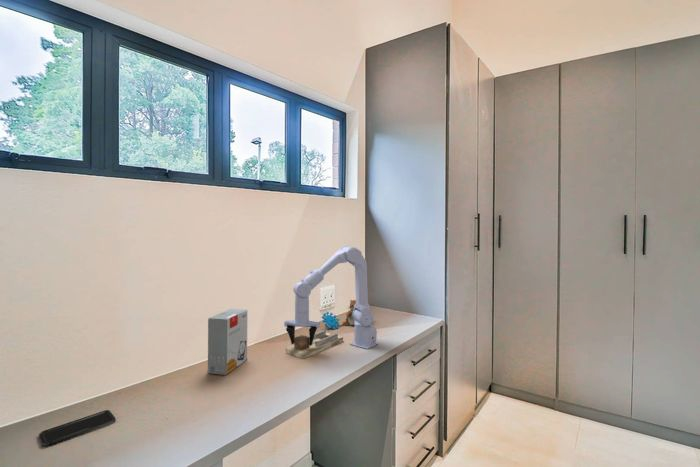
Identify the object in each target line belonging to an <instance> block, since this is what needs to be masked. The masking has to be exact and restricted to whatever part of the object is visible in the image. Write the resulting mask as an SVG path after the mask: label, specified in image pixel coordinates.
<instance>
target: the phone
mask: <svg viewBox="0 0 700 467" xmlns="http://www.w3.org/2000/svg"><path fill="white" fill-rule="evenodd" d="M115 423H116V416H114V414H113V413H112V412H111V411H110V410H109V409H105V410H102V411H99V412H96V413H93V414H91V415H90V414H89V415H87V416H84V417H81V418H77V419H75V420H73V421H70V422H69V421H68V422H67V423H63V424H60V425H57V426H54V427H52V428H48V429H45V430H42V431H40V432H39V434H38V438H39V442H40V444H41V447H42V448H44V447H46V448H50V447H52V446H55V445H57V443H58V444H61V443H63V441H64V442H65V441H69V440H71V438H72V439H74V437H75V438H77V437H79V436H82V435H86V434H88V433H91V432H93V431H96V430H99V429H102V428H104V427H107V426H111V425H113V424H115ZM68 439H69V440H68ZM49 446H50V447H49Z"/></svg>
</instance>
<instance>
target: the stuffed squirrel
mask: <svg viewBox="0 0 700 467" xmlns="http://www.w3.org/2000/svg"><path fill="white" fill-rule="evenodd" d="M349 301H350V302H349V306H348V308H347V309H348V311H347V313H346V318H345V321H343V322H342V323H341V326H343V325H346V326H351V325H354V323H355V319H354V318H353V316H352V313H353V310H354V305H355V303H356V299H353V300H352V299H350V300H349Z"/></svg>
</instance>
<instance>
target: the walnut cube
mask: <svg viewBox="0 0 700 467" xmlns="http://www.w3.org/2000/svg"><path fill="white" fill-rule="evenodd" d="M293 345H294V348H295V349H298V350H301V351H302V350H305V349H307V348H309V337H308V336H307V335H303V334H302V335H301V334H300V335H298V336H295V338H294V344H293Z"/></svg>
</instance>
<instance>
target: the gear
mask: <svg viewBox="0 0 700 467" xmlns="http://www.w3.org/2000/svg"><path fill="white" fill-rule="evenodd" d="M321 319H322V323H323V324H324V326H325V327H326V326H328V327H327V328H328V329H329V330H335V329H338V328H339V325H340V322H339V321H340V320H341V318H340V317H338V318H337V315H335V314H334V315H333V312H329V311H326V312H324V313H323V314H322V316H321Z"/></svg>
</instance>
